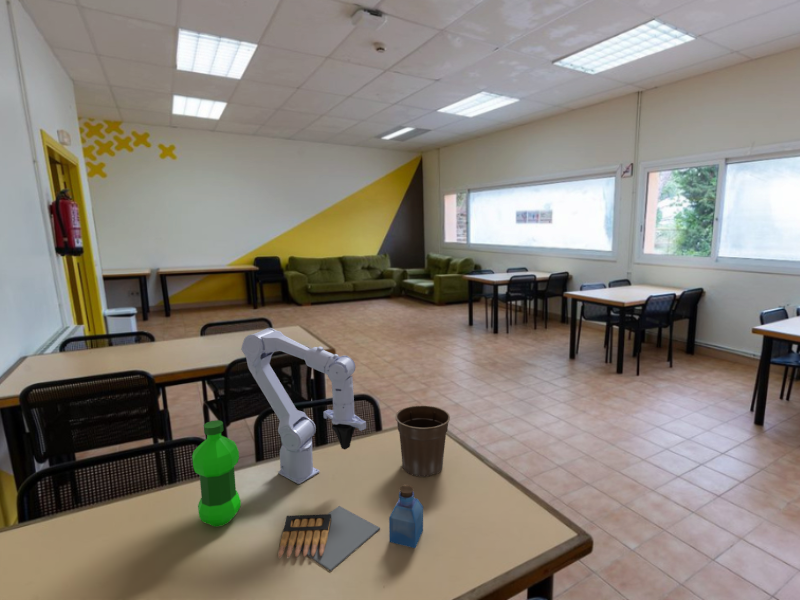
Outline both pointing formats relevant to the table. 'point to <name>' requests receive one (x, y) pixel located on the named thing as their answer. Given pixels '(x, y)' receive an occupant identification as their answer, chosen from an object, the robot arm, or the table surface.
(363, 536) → the rubber mat
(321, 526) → the ammunition clip
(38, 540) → the table surface
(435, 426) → the plant pot
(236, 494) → the plastic bottle
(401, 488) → the perfume bottle
